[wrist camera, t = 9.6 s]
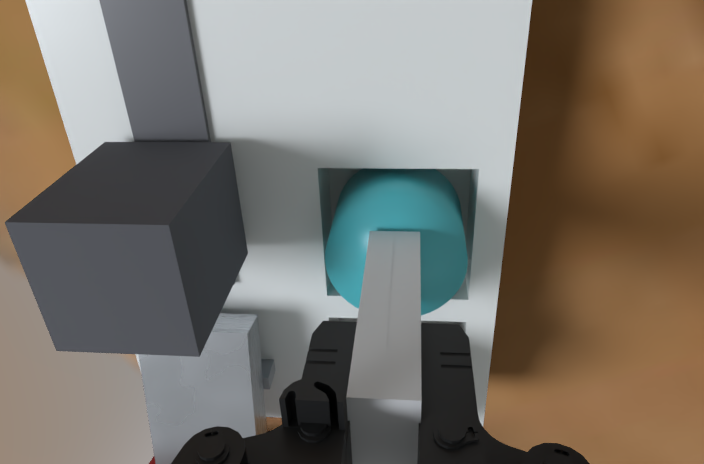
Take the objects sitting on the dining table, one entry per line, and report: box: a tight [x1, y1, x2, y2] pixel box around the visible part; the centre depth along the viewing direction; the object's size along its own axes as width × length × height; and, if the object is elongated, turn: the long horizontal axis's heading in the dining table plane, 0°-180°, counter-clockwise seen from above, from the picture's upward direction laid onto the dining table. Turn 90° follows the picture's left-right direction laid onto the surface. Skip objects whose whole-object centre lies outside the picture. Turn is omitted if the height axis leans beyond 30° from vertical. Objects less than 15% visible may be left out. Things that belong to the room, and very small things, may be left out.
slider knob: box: [5, 142, 248, 357], centre depth 16 cm, size 4×4×5 cm
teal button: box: [325, 168, 468, 315], centre depth 19 cm, size 4×4×3 cm
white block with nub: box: [138, 313, 267, 464], centre depth 21 cm, size 6×4×1 cm, turn 2°
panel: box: [26, 0, 532, 426], centre depth 19 cm, size 22×14×4 cm, turn 2°
